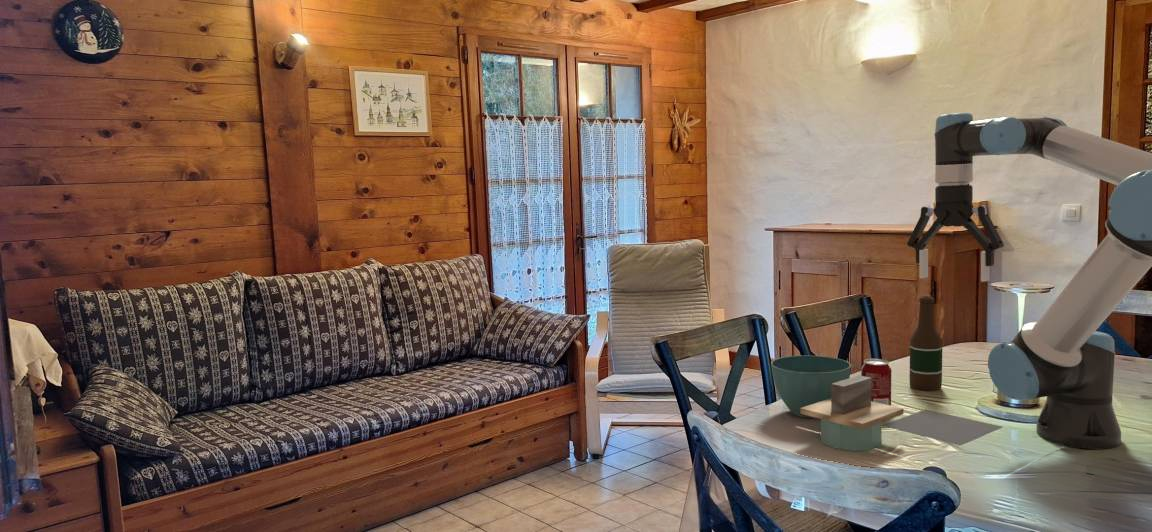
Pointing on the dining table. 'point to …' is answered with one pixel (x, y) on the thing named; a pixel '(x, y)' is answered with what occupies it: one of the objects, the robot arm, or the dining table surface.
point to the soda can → (878, 379)
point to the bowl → (850, 436)
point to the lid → (852, 405)
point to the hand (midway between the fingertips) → (953, 279)
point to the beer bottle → (926, 350)
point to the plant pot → (807, 379)
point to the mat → (942, 426)
